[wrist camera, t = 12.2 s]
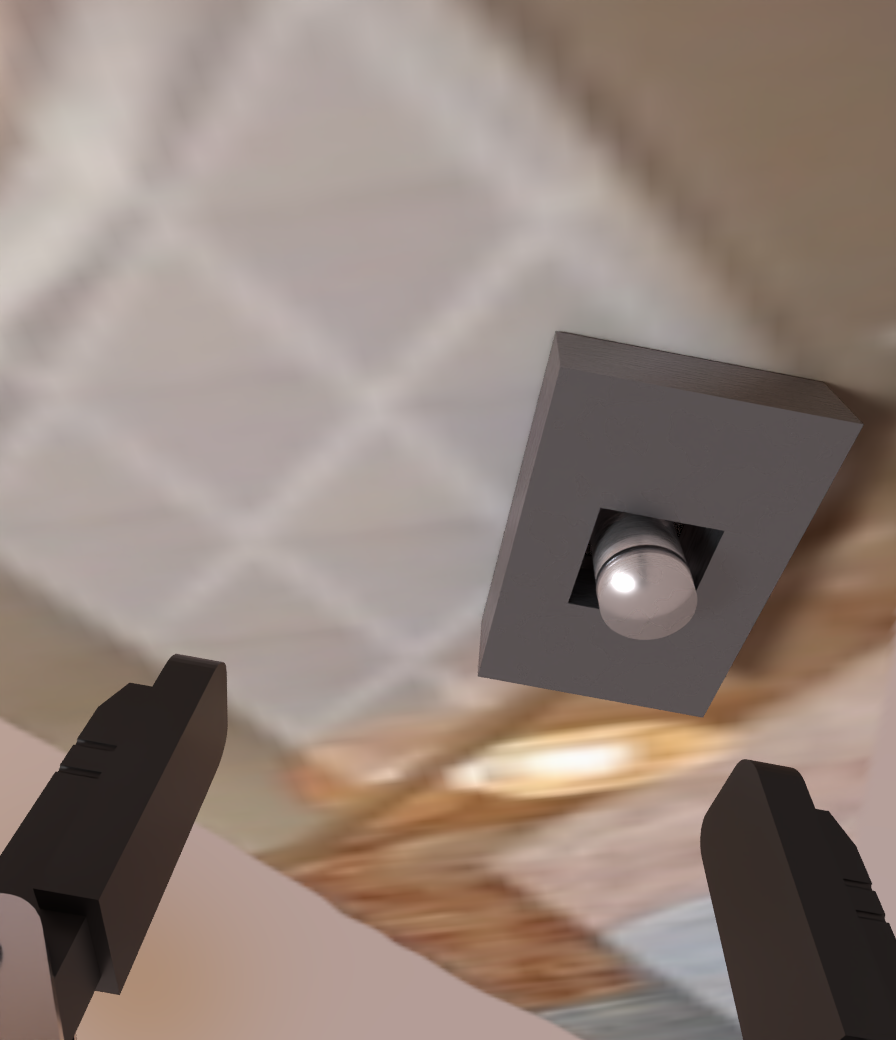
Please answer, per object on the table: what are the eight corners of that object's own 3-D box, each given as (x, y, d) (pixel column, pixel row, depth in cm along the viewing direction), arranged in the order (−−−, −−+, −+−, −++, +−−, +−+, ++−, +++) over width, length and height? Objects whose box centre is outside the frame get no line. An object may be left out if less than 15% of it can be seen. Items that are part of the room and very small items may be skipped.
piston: (599, 474, 40) (614, 556, 33) (681, 490, 40) (713, 575, 33) (576, 542, 42) (587, 630, 36) (653, 556, 42) (678, 648, 36)
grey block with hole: (555, 331, 35) (560, 366, 31) (823, 382, 36) (863, 424, 32) (481, 621, 46) (477, 676, 42) (686, 659, 47) (702, 717, 43)
